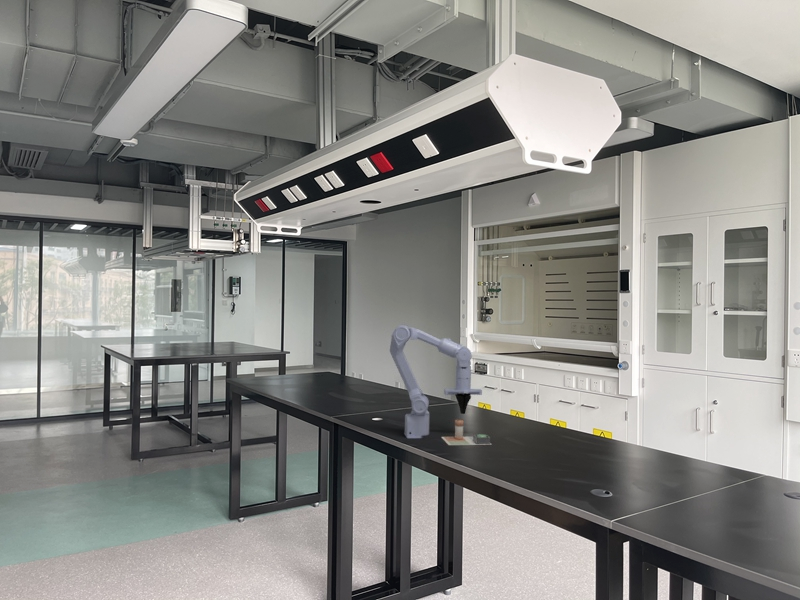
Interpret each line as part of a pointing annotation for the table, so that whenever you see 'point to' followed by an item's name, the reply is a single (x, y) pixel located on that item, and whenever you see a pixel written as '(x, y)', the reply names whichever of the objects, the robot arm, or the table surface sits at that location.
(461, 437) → the orange and grey cylinder
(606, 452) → the table surface
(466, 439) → the board
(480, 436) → the button
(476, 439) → the button housing
